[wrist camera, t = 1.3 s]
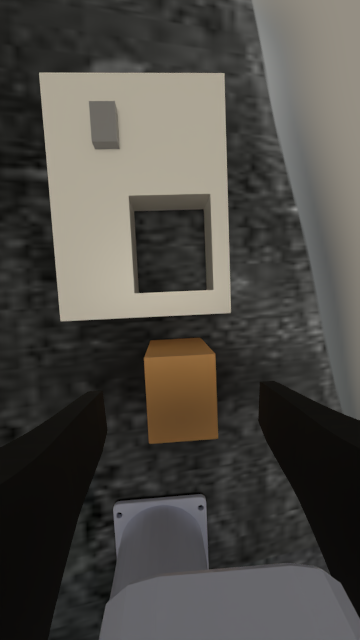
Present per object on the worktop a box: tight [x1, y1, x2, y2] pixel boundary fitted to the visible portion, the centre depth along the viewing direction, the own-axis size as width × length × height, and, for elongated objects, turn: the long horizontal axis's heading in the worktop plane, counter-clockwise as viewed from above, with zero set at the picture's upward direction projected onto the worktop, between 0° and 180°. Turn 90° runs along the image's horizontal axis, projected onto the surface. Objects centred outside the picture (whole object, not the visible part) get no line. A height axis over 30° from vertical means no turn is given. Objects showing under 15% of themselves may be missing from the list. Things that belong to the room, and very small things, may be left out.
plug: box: [144, 338, 218, 444], centre depth 18 cm, size 5×4×7 cm
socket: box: [39, 73, 231, 321], centre depth 18 cm, size 16×12×4 cm
